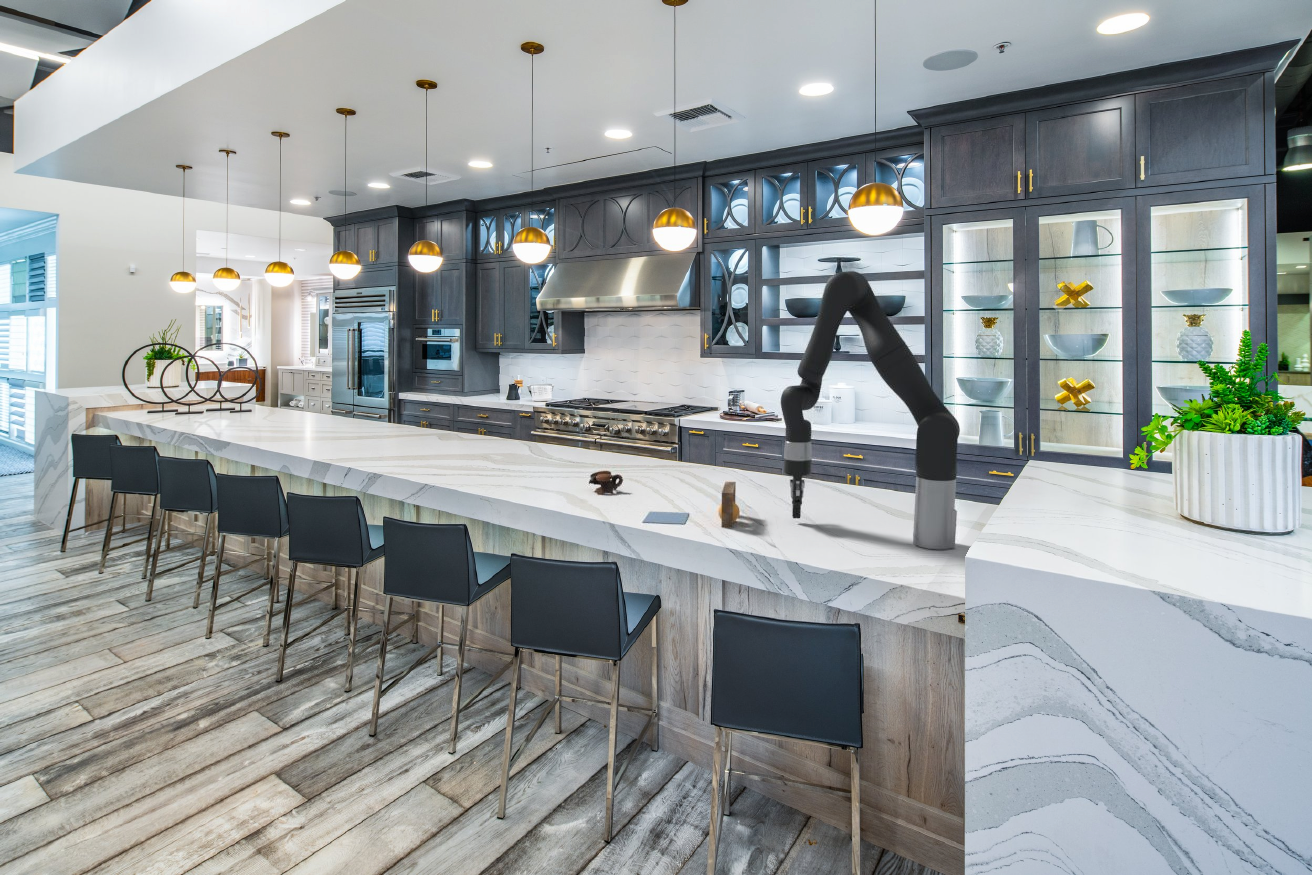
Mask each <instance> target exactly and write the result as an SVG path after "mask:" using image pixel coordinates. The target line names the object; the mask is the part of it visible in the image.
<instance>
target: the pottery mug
mask: <svg viewBox="0 0 1312 875" xmlns="http://www.w3.org/2000/svg"><path fill="white" fill-rule="evenodd" d="M589 477H590V479H589V481H588V485H591V484H592V485H596V486H597V485H599V487H597V488H595V491H596V495H601V494H614V491H616V490H617V489H618V488H619V487H621V486H622V484H623V481H624V479H623V476H622V475H621V474H618V473H617V474H612V472H611V471H609V470H601V471H600V470H599V471H595V472H593V473H591V474H590V475H589ZM617 480H618V481H617Z"/></svg>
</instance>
